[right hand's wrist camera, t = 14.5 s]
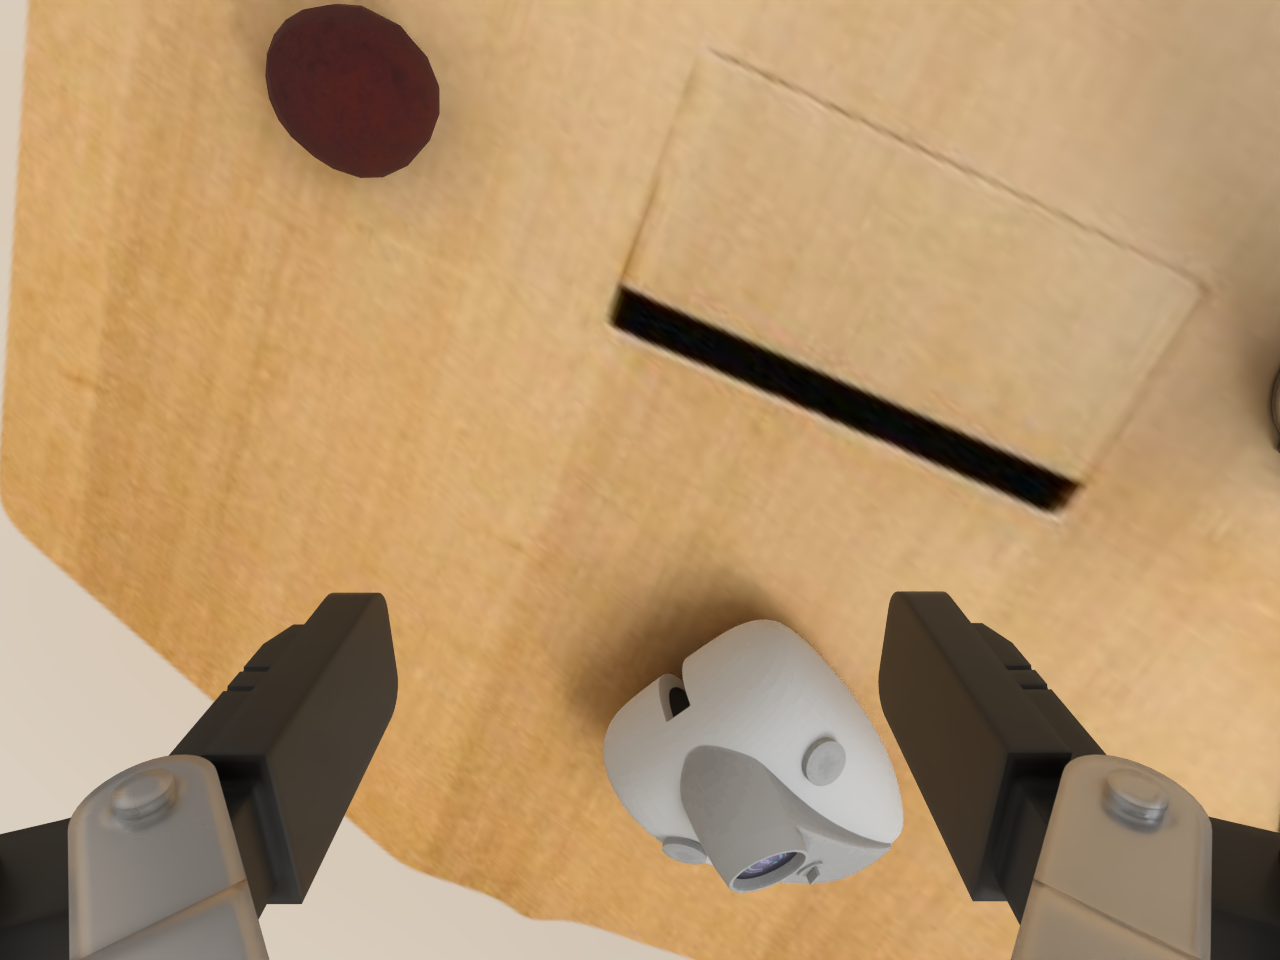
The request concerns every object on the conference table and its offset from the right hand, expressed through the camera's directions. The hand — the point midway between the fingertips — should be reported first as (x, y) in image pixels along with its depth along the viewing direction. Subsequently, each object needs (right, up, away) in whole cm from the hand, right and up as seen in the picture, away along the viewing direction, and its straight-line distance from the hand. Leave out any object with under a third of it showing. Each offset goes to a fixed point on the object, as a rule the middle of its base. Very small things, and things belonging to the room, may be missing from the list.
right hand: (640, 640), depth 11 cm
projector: (+10, -16, +42) cm, 46 cm away
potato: (-14, +23, +27) cm, 37 cm away
